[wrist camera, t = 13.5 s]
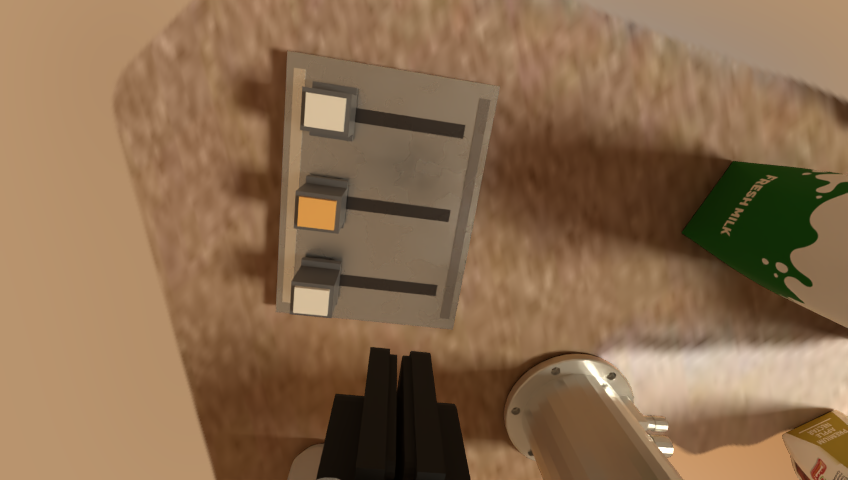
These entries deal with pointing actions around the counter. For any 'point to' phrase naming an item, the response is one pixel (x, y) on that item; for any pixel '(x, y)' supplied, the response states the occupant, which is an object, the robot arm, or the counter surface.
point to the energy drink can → (306, 464)
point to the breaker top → (315, 288)
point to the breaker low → (329, 111)
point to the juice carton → (820, 448)
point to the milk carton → (781, 232)
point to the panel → (389, 189)
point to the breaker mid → (321, 204)
